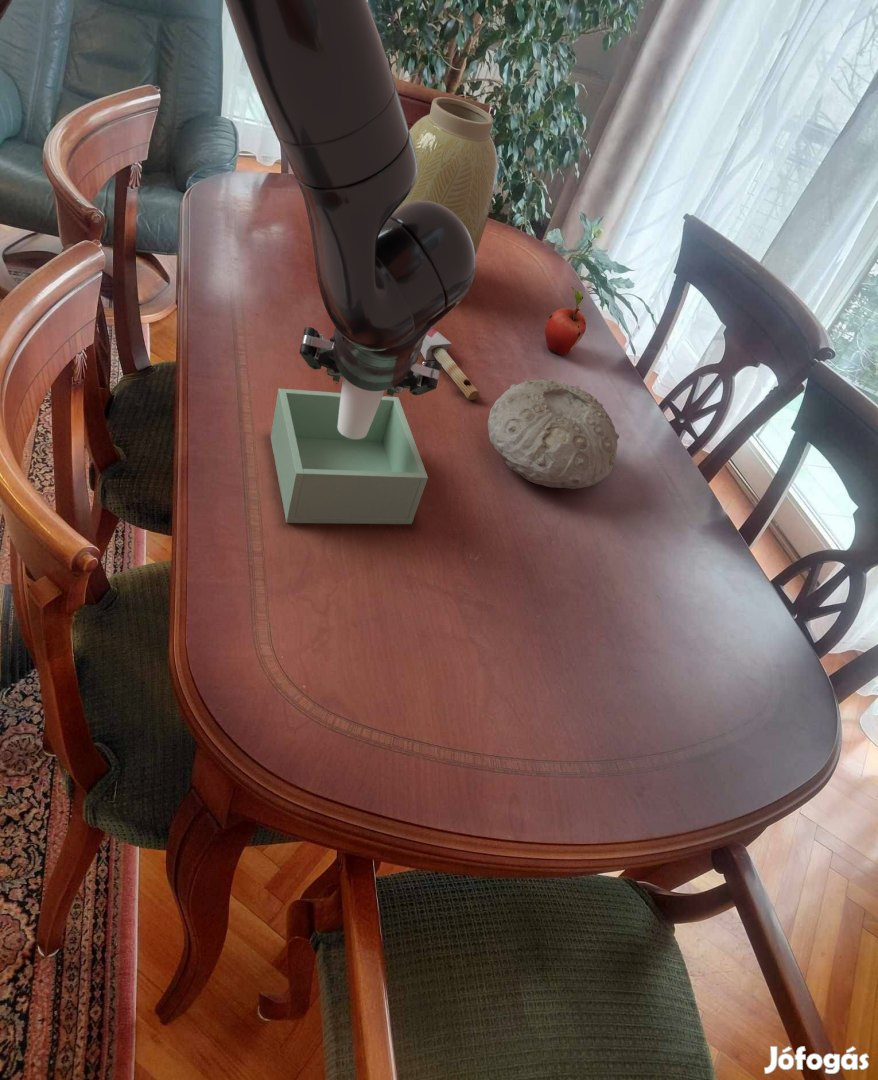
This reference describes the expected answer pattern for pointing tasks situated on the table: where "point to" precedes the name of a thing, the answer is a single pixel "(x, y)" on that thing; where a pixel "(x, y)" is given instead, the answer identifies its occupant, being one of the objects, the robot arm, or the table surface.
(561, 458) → the decorative shell
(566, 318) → the apple
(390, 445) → the bin
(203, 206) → the table surface
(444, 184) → the vase
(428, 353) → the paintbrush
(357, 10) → the robot arm
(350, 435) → the cup
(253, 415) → the table surface
